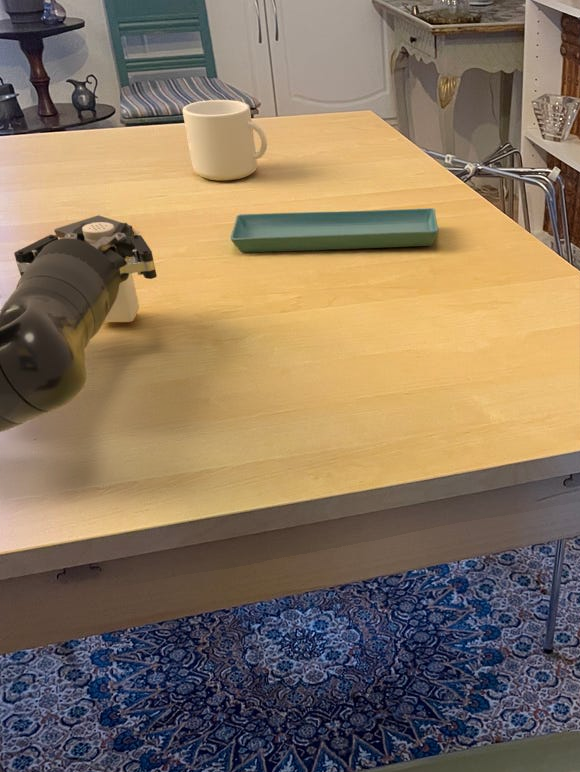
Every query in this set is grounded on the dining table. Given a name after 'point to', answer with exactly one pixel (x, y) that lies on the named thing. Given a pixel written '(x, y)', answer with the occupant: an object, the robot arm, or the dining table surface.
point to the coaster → (71, 227)
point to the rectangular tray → (334, 230)
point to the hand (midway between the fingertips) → (107, 232)
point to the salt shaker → (126, 296)
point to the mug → (222, 139)
